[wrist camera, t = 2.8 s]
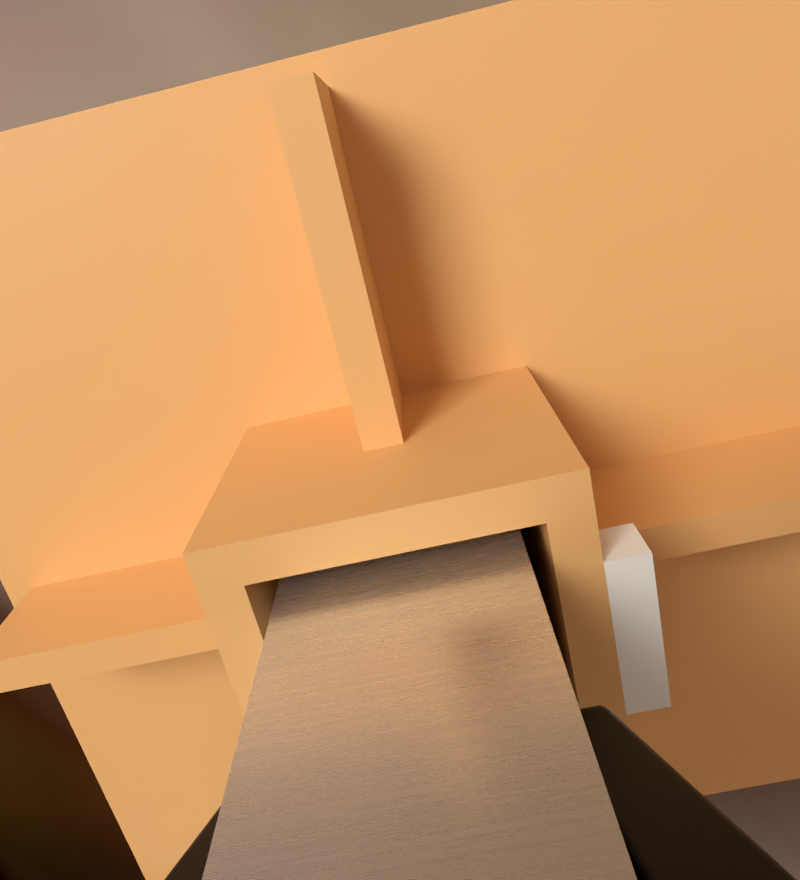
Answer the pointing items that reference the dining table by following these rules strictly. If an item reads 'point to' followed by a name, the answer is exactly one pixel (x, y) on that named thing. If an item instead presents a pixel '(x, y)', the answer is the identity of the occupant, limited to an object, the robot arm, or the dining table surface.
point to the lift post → (415, 731)
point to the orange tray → (413, 373)
